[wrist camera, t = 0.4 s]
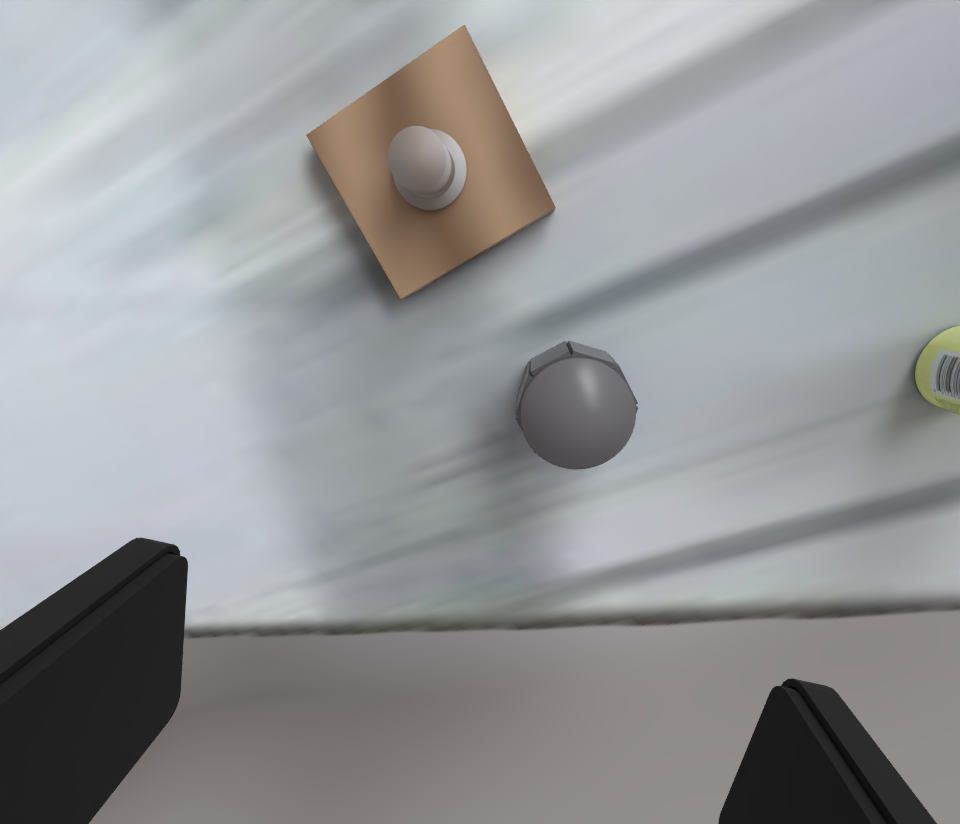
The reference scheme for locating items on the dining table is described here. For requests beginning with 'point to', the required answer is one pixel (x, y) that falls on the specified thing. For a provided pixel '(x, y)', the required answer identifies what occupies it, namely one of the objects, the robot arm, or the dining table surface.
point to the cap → (575, 406)
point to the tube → (941, 370)
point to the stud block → (432, 165)
